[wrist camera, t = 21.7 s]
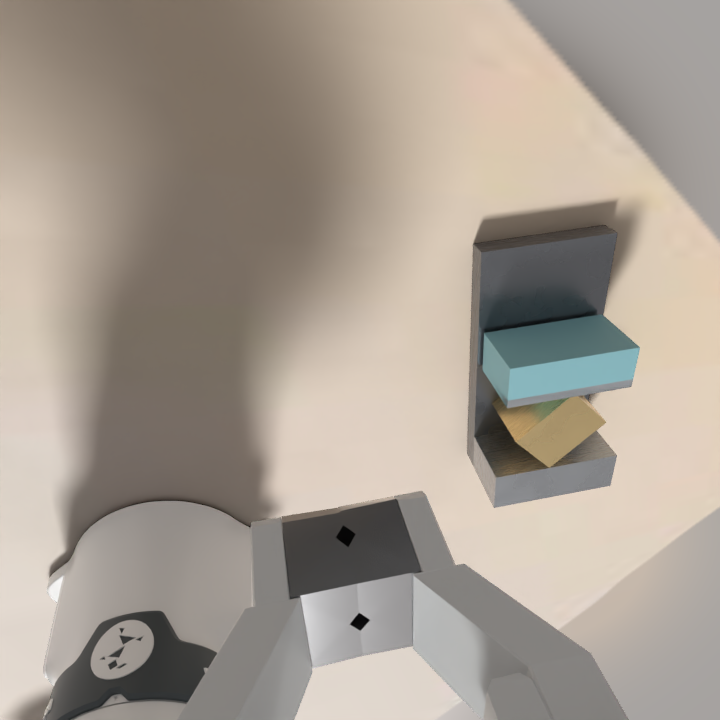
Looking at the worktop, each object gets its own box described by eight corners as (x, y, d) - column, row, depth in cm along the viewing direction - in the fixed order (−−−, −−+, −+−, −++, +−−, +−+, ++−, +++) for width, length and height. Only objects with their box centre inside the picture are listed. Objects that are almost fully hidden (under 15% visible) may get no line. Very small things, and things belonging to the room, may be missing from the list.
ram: (595, 351, 40) (631, 386, 37) (482, 369, 40) (507, 408, 36) (601, 314, 39) (640, 347, 35) (484, 333, 38) (510, 369, 34)
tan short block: (523, 428, 44) (549, 468, 40) (491, 403, 42) (515, 442, 38) (577, 382, 42) (609, 419, 38) (547, 354, 40) (578, 390, 37)
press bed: (571, 434, 47) (610, 485, 42) (467, 453, 46) (493, 507, 41) (604, 225, 37) (660, 259, 32) (473, 243, 36) (509, 282, 31)
